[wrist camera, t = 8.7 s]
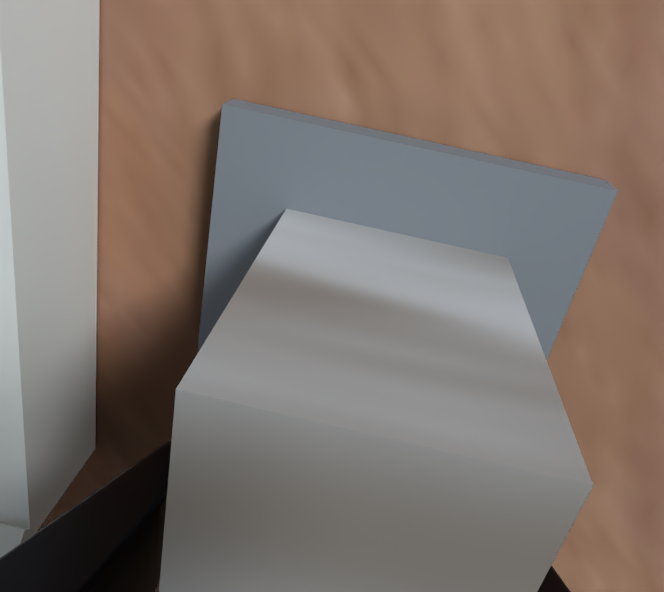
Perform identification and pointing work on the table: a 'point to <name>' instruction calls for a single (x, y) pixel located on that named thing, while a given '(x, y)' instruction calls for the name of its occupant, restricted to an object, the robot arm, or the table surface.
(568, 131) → the table surface
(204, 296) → the slate mat
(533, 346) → the walnut box
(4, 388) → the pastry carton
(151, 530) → the robot arm
